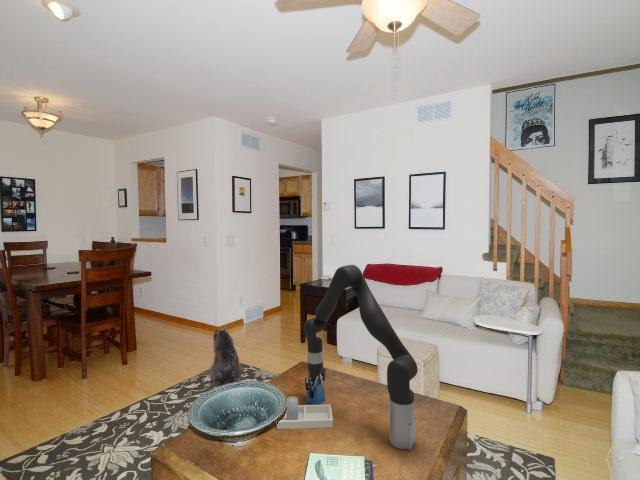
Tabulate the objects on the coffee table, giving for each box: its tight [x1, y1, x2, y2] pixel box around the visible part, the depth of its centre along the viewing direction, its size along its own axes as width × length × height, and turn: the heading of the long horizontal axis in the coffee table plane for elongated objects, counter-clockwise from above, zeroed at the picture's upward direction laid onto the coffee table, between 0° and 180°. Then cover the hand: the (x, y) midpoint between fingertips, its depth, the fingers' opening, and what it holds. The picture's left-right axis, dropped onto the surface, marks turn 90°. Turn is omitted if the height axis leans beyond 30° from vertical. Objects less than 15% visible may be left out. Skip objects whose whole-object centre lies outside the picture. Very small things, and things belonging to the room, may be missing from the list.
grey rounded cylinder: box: [286, 395, 299, 420], centre depth 146 cm, size 5×5×9 cm
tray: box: [276, 403, 334, 430], centre depth 146 cm, size 23×12×4 cm, turn 92°
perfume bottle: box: [305, 377, 326, 405], centre depth 161 cm, size 6×6×12 cm
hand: (315, 394), depth 161 cm, fingers closed on perfume bottle, 6 cm apart
